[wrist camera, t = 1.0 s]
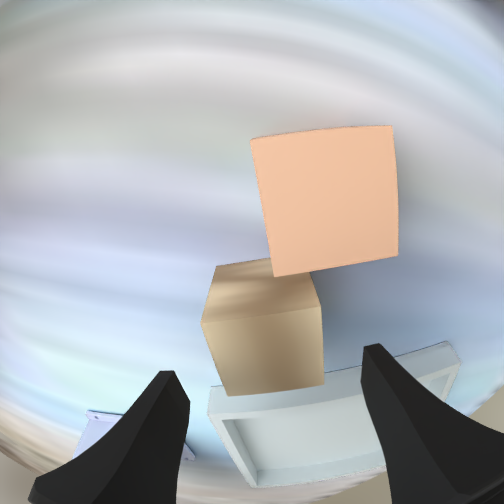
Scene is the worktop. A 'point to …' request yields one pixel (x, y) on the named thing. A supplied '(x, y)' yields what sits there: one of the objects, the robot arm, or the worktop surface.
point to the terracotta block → (328, 197)
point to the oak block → (263, 329)
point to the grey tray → (316, 423)
